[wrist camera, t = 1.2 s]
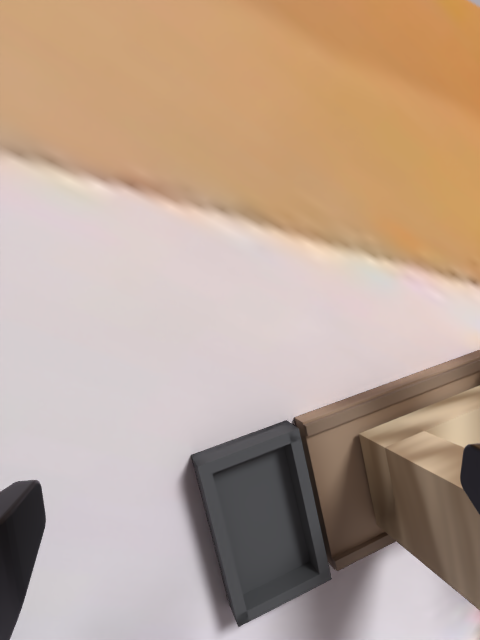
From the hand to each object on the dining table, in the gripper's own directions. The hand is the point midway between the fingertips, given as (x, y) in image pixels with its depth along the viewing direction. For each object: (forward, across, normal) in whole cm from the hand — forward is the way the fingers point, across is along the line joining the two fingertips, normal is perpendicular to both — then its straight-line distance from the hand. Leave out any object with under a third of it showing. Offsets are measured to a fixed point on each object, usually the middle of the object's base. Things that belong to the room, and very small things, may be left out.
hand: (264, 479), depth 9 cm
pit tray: (+12, -2, +10) cm, 16 cm away
